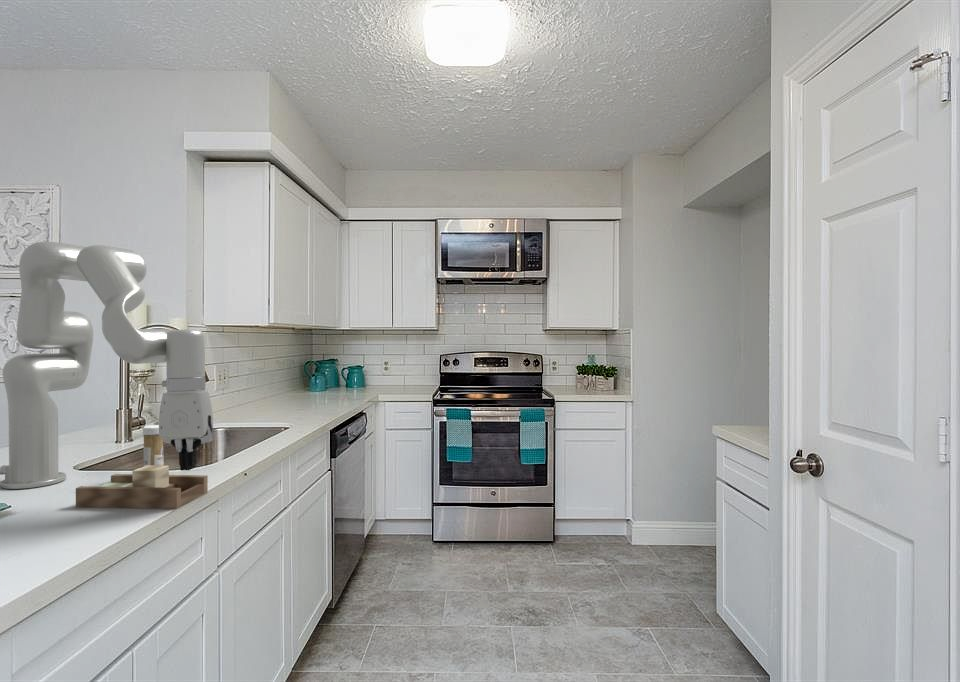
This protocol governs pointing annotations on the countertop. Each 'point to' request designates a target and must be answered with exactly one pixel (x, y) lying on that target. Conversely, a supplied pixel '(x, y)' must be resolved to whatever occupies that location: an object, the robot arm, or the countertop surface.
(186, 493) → the brown wooden tray
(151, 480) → the beech block
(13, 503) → the countertop surface
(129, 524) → the countertop surface
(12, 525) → the countertop surface
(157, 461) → the sprinkles bottle
